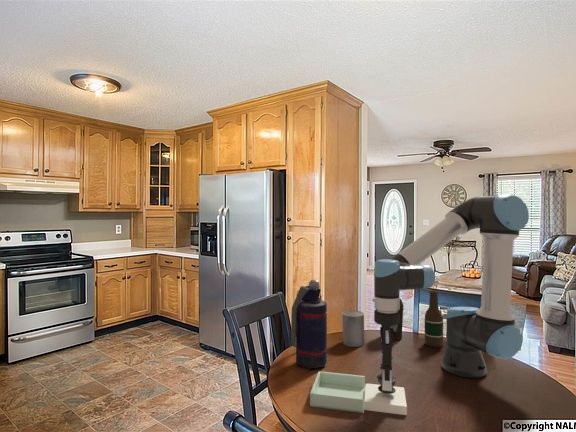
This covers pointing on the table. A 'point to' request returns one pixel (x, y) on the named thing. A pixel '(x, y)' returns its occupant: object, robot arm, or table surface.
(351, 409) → the box
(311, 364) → the grenade
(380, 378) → the dark grey tall piece
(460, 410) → the table surface
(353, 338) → the pillar candle
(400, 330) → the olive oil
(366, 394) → the white square slab
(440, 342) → the beer bottle
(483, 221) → the robot arm
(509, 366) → the table surface
